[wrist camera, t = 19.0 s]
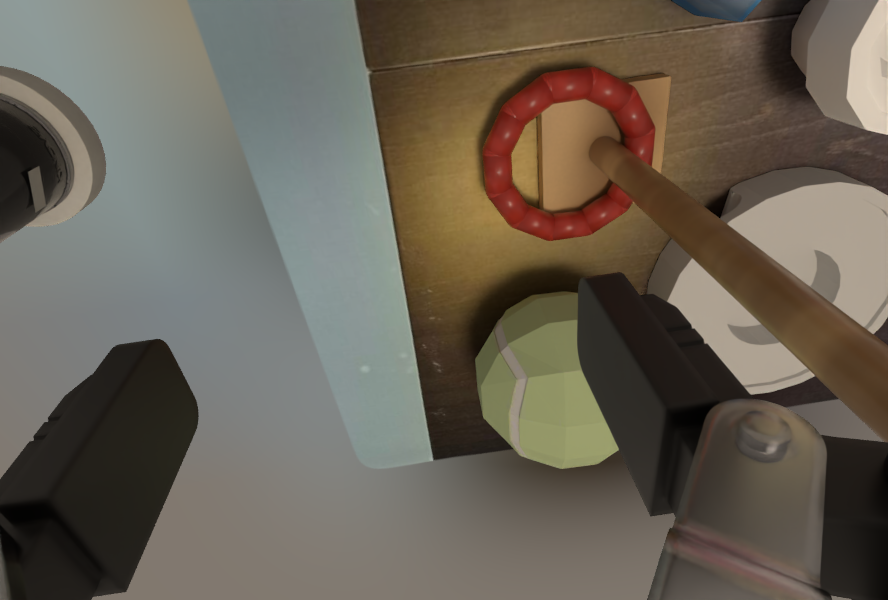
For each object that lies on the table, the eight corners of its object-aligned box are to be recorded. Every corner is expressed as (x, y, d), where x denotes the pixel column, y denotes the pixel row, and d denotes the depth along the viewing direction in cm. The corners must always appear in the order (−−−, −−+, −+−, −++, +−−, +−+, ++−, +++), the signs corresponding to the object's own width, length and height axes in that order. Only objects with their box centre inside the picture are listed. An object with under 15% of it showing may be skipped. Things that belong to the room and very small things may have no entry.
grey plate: (622, 373, 57) (636, 398, 54) (681, 164, 45) (704, 180, 41) (819, 368, 59) (845, 392, 56) (927, 168, 47) (968, 183, 44)
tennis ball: (621, 254, 49) (700, 352, 36) (609, 375, 57) (671, 490, 45) (463, 274, 49) (487, 380, 36) (474, 393, 57) (496, 513, 44)
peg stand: (539, 210, 46) (858, 732, 14) (536, 91, 41) (1034, 507, 9) (651, 193, 46) (1214, 679, 14) (662, 72, 41) (1600, 422, 9)
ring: (488, 242, 46) (492, 253, 44) (474, 80, 39) (478, 85, 37) (640, 220, 46) (650, 231, 44) (654, 54, 38) (667, 58, 37)
